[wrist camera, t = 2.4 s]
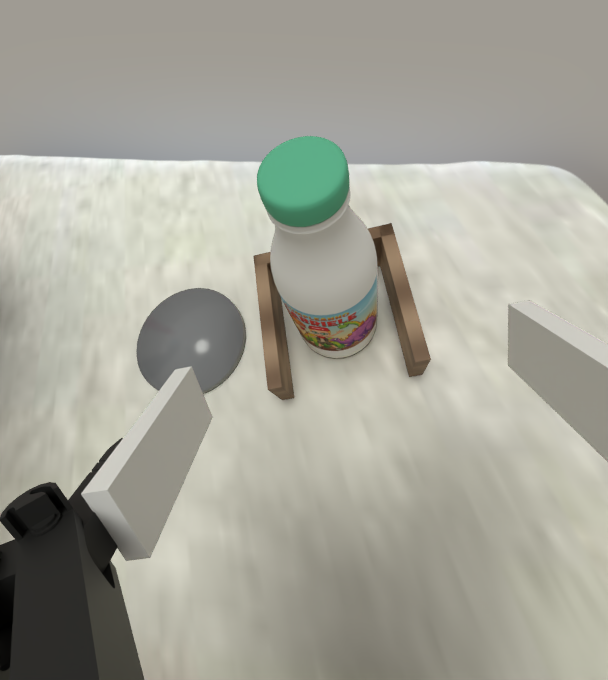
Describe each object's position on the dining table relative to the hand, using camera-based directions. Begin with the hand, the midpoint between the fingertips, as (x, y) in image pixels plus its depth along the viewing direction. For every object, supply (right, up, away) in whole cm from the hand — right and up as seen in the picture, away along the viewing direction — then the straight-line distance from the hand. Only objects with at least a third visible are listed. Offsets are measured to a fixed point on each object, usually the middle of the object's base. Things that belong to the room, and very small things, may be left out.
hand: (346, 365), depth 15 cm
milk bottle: (+2, +3, +21) cm, 21 cm away
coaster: (-14, +1, +23) cm, 27 cm away
